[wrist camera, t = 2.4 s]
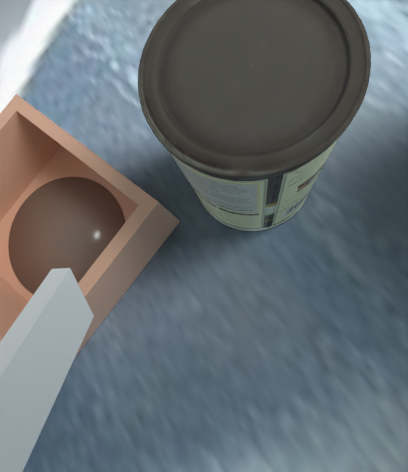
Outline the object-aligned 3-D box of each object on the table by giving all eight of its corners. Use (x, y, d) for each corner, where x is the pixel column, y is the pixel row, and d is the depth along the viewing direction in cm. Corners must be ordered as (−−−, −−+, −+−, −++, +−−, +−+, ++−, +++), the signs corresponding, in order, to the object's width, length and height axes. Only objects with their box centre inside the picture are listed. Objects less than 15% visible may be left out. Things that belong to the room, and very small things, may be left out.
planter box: (64, 133, 32) (16, 94, 25) (180, 221, 28) (158, 201, 22) (-33, 254, 31) (-106, 245, 25) (74, 358, 28) (21, 379, 21)
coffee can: (213, 108, 29) (177, -49, 16) (327, 133, 27) (399, -21, 14) (178, 213, 28) (105, 143, 15) (293, 247, 26) (335, 204, 13)
